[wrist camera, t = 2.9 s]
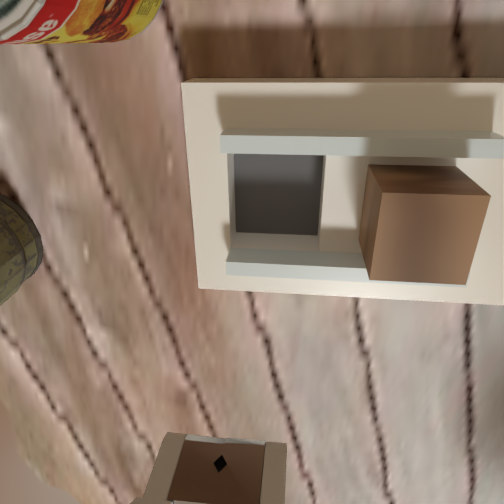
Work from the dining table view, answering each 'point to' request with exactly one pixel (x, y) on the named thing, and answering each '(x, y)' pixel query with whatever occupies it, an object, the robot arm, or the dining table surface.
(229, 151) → the channel
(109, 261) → the dining table surface
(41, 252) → the thermos
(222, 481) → the robot arm
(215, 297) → the dining table surface
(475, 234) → the walnut block
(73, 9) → the canned food
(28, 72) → the dining table surface
